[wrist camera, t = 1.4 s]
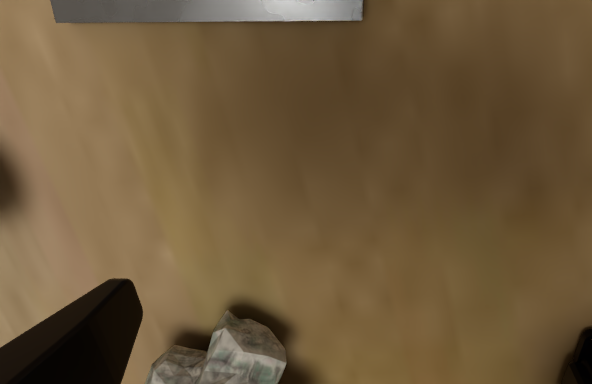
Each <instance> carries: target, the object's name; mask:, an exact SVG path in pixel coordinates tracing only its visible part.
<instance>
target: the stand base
mask: <svg viewBox="0 0 592 384" xmlns="http://www.w3.org/2000/svg"><path fill="white" fill-rule="evenodd" d="M50 1H51V5H52V9H53V13H54V17H55V21H56V23H90V22H226V21H362V19H363V6H364V0H50Z"/></svg>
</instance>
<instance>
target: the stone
mask: <svg viewBox="0 0 592 384" xmlns="http://www.w3.org/2000/svg"><path fill="white" fill-rule="evenodd" d="M286 364H287V362H286V351H285V348H284V347H283V346H282V344H281V343H280V342H279V340H278V339H277V338H276V337H275V335H274V334H273V333H272V332H271V330H270V329H269V328H268V327H266V326H264V325H262V324H260V323H258V322H256V321H253V320H251V319H238V318H237V317H236V316H234V315H233V314H232V313H231V312H229V311H228V310H227V311H226V312H225V314H224V315H223V317H222V318H221V320H220V321H219V323H218V324H217V326H216V327H215V329H214V332H213V334H212V338H211V342H210V345H209V349H208V352H207V351H203V350H197V349H190V348H186V347H182V346H178V345H174V346H172V347H171V348H170V349H169V350H167V351H166V352H165V353H164V354H162V355H161V356H160V357H159V358H158V359H157V360H156V361H155V362H154V363H153V364H152V366H151V369H150V371H149V374H148V377H147V380H146V382H145V384H278V382H279V380H280V378H281V376H282V374H283V371H284V369H285V366H286Z"/></svg>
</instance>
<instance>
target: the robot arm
mask: <svg viewBox="0 0 592 384" xmlns="http://www.w3.org/2000/svg"><path fill="white" fill-rule="evenodd" d="M142 317H143V310H142V306H141V303H140V300H139V297H138V295H137V292H136V289H135V286H134V284H133V282H132V281H131V280H130V279H116V278H114V279H109V280H107V281H106V282H104V283H102V284H101V285H99V286H98V287H96V288H94V289H93V290H91V291H90V292H88V293H87V294H85V295H83V296H82V297H80V298H79V299H77V300H75V301H74V302H72V303H71V304H69V305H67V306H66V307H64V308H63V309H61V310H59V311H58V312H56V313H55V314H53V315H51V316H50V317H48V318H47V319H45V320H44V321H42V322H40V323H39V324H37V325H36V326H34V327H32V328H31V329H29V330H28V331H26V332H24V333H23V334H21V335H20V336H18V337H16V338H15V339H13V340H12V341H10V342H9V343H7V344H5V345H4V346H2V347H1V348H0V384H121V381H122V379H123V376H124V373H125V370H126V367H127V364H128V361H129V358H130V354H131V351H132V348H133V345H134V342H135V339H136V336H137V333H138V330H139V327H140V324H141V321H142ZM591 339H592V329H589V330H586V331H585V332H583V334H582V335H581V338H580V341H579V344H578V346H577V349H576V352H575V355H574V357H573V360H572V362H571V363H570V364H569V365H568V367H567V369H566V372H565V375H564V378H563V381H562V384H592V340H591Z"/></svg>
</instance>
